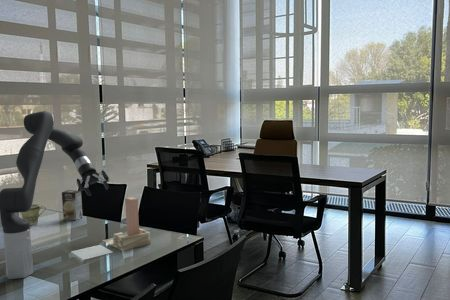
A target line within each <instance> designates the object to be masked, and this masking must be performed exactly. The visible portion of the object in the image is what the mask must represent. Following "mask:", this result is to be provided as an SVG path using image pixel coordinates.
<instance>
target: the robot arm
mask: <svg viewBox="0 0 450 300" xmlns="http://www.w3.org/2000/svg"><path fill="white" fill-rule="evenodd" d="M54 121H55V120H54V116H53V114H52V113H51V112H50V111H46V110H42V111H37V112H32V113H29V114H27V115H25V116H24V118H23V127H24V128H25V130H26V131H27V132H28V134H31V135H32V136H31V137H29V138H28V140H26V141H25V142H24V144H23V145H22V146H21V148H20V149H19V150H18V155H17V156H16V160H15V161H16V162H15V165H16V167H17V170H18V172H19V173H20V175H21V176H22V179H23V185H22V186H21V187H10V188H9V187H8V188H7V187H6V188H2V189H0V223H1V228H2V234H3V236H2V237H3V245H4V247H3V248H4V256H5V257H4V259H5V260H4V261H5V270H6V278H7V280H14V279H15V280H17V279H25V278H27V277H29V276H31V275H33V273H34V261H33V259H34V258H33V248H32V236H31V225H30V223H29V221H28V220H25V219H23V217H22V218H21V217H20V216H18V215H17V214H16V213H21V212H27V211H29V210H30V208H31V206H32V204H33V201H34V196H35V190H36V185H37V180H38V176H39V172H40V169H41V165H42V161H43V158H44V153H45V150H46V146H47V143H48V141H51V142H53V143H55V144H56V145H58V146H60V147H61V150H62V151H63V153H65V154H66V155H67V156H68V157H69V158H70V159H71V160H72V162H73V163H74V166H75V168H76V171H77V172H78V173H79V175H80V178H77V179H76V185H77V187H78V190H79V191H81V192H83V191H85V193H86V195H87V196H89V197H91V196H92V192H91V190H90V189H89V185H93V184H97V183H99V184H103V186H104V188H105V190H106V191H108V190H109V184H108V182H109V180H110V178H109V176H108V174H107V173H106V171H105V170H101V171H100V172H98V171H97V169H96V168H95V166H94V165H93V163H92V161H91V160H90V159H89V157H88V155H87V154H86V151H85V150H83V149H81V148H82V147H83V144H84V142H83V139H82V138H81V137H80V136H78V135H76V134H74V133H69V132H66V130H63V129H61V128H58V127H54ZM82 183H85V184H84V186H83V184H82Z"/></svg>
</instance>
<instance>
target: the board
mask: <svg viewBox="0 0 450 300" xmlns="http://www.w3.org/2000/svg"><path fill="white" fill-rule="evenodd" d="M124 200H125V201H124V202H125V203H124V204H125V218H126V219H125V220H126V235H128V236H132V235H137V234H139V228H140V224H139V220H140V219H139V218H140V217H139V205H138V198H137V197H132V196H128V197H125V198H124Z"/></svg>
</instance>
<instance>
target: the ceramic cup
mask: <svg viewBox="0 0 450 300" xmlns="http://www.w3.org/2000/svg"><path fill="white" fill-rule="evenodd" d="M42 208H44V209H43V211H41V213H40V214H39V212H40V210H41V209H42ZM45 211H46V207H45V206H44V205H40V204H35V203H34V204H33V203H32V206H31V208H30V210H29V211H27V212H20V214H21V217H22V219H25V220H28V221H29V223H30V226H34V225H37V224H38V223H39V218H40V216H42V214H43V213H44V212H45Z"/></svg>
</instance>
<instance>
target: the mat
mask: <svg viewBox="0 0 450 300" xmlns="http://www.w3.org/2000/svg"><path fill="white" fill-rule="evenodd" d="M112 253H113V250H110V249H109V248H107V247H105V246H103V245H101V244H99V245H98V244H97V245H93V246H90V247H89V246H88V247H85V248H81V249H80V248H79V249H76V250H71V251H70V255H71V256H72V255H73V256H74V258H75V257H76V258H77V259H76V258H75V259H76V260H78V261H79V260H80V261H79V262H81V263H82V262H83V263H82V264H86V262H87V261H86V260H88V259H92V258H96V257H100V256H103V255H108V254H112ZM73 256H72V257H73Z"/></svg>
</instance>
